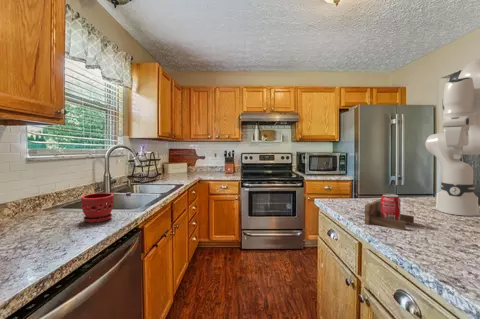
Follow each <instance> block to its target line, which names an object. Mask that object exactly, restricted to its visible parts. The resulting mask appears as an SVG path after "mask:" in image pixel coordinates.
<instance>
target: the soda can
mask: <svg viewBox="0 0 480 319" xmlns="http://www.w3.org/2000/svg"><path fill="white" fill-rule="evenodd" d="M380 199H381V217H382V218H387V219H393V220H398V221H400V214H401V198H400V197H399V195H398V194H394V193H383V194H382V196H381V198H380Z"/></svg>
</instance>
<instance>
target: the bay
mask: <svg viewBox="0 0 480 319" xmlns="http://www.w3.org/2000/svg"><path fill="white" fill-rule="evenodd" d="M414 218H415V216H414V215H411V214H410V215H409V214H404V213H400V221H398V220H393V219H387V218H382V217H381V198H380V199H377V200H374V201H370V202H369V203H367V204H365V205H364V224H365V225H371V224H372V225H378V226H382V227H387V228H392V229H396V230H399V231H400V230H401V231H405V230H406V224H410V223H411V225H413V224H415V219H414Z"/></svg>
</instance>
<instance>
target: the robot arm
mask: <svg viewBox="0 0 480 319" xmlns="http://www.w3.org/2000/svg"><path fill="white" fill-rule="evenodd" d="M442 96H443V97H442V110H443V113H442V121H441V124H442V125H441V127H442V128H444V129H443V130H444V131H443V132H438V133H434V134H430V135H429V136H427V138H426V140H425V148H426V150H427V151H428V153H431V154H432V155H433V156H434V157H435V158H436V159H437V160H438V161H439V164H440V166H441V173H442V175H441V176H442V180H441V182H440V191H438V192H437V193H436V204H435V205H433V206H432V207H431V209H432V210H436V211H438V212H441V213H445V214H449V215H454V216H455V215H456V216H466V217H467V216H468V217H470V216H472V217H473V216H474V217H475V216H477V217H478V216H479V217H480V204H479V197H478V196H477V195H476V194H475V193H474V192H475V188H476V187H475V184H474V168H473V167H472V166H471V165H470V164H468V163H467V162H464V161H462V160H460V159H462V157H463V156H462V155H469V156H470V155H474V156H476V155H480V58H477V59H474V60H472V61H469V63H467V64H465V66H464V67H463V69H460V70H458V71H455V72H452V74H451V75H450V76H449V78H448V80H447V81H446V82H445V83H444V87H443V95H442Z"/></svg>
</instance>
